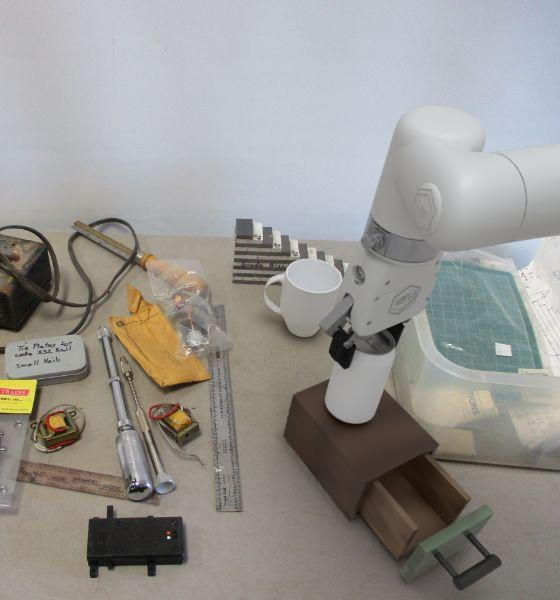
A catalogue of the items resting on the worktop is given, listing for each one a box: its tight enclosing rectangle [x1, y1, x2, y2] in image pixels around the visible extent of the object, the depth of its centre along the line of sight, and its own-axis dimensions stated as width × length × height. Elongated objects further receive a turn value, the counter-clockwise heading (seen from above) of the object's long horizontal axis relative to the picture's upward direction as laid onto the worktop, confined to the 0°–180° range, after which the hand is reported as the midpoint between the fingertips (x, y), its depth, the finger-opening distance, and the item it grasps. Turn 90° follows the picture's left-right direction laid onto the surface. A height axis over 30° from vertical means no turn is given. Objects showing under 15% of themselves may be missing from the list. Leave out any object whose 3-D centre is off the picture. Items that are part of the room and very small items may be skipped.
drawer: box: [358, 453, 503, 591], centre depth 71 cm, size 18×10×8 cm, turn 27°
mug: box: [263, 258, 343, 338], centre depth 98 cm, size 12×9×12 cm
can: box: [325, 325, 396, 424], centre depth 73 cm, size 6×6×12 cm
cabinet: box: [282, 378, 440, 522], centre depth 79 cm, size 15×12×10 cm
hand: (362, 349), depth 71 cm, fingers closed on can, 6 cm apart
